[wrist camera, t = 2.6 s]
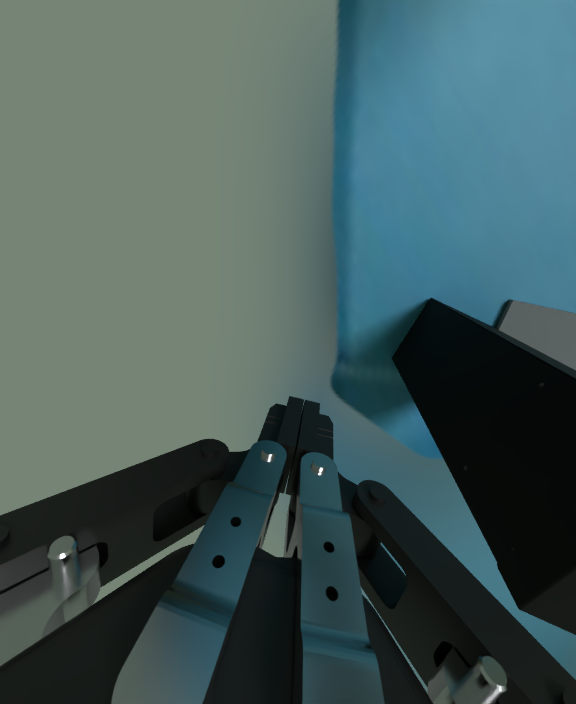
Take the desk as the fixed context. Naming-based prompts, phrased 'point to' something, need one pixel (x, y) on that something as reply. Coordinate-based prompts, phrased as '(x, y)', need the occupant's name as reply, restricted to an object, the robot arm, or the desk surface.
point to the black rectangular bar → (503, 447)
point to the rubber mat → (542, 329)
